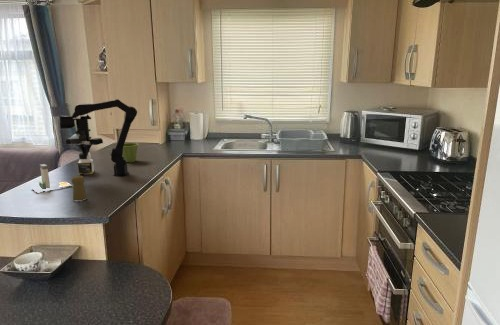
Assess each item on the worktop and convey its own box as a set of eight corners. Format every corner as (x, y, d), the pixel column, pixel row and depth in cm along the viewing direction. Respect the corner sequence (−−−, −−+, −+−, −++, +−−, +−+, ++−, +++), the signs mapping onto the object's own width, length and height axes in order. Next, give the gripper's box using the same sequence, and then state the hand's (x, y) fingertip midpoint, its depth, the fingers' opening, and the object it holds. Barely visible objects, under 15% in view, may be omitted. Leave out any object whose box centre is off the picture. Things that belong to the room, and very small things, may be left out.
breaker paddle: (47, 185, 183) (44, 163, 181) (50, 187, 180) (47, 165, 177) (42, 186, 182) (39, 164, 179) (45, 188, 178) (42, 166, 176)
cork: (89, 197, 168) (87, 174, 165) (84, 202, 162) (81, 178, 159) (76, 197, 167) (73, 174, 165) (70, 202, 162) (67, 178, 159)
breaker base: (65, 182, 191) (65, 175, 190) (72, 186, 184) (71, 179, 183) (31, 189, 181) (30, 181, 180) (37, 193, 174) (35, 186, 173)
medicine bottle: (79, 174, 207) (76, 154, 204) (81, 171, 213) (78, 151, 210) (92, 174, 208) (90, 153, 206) (94, 170, 215) (92, 151, 212)
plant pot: (116, 162, 236) (115, 145, 233) (130, 158, 246) (129, 142, 244) (130, 164, 231) (128, 146, 228) (143, 160, 241) (142, 143, 238)
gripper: (56, 129, 188) (60, 159, 191) (88, 130, 184) (92, 160, 187) (71, 126, 198) (74, 154, 202) (101, 127, 194) (104, 156, 198)
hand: (85, 156), depth 197 cm, fingers closed
